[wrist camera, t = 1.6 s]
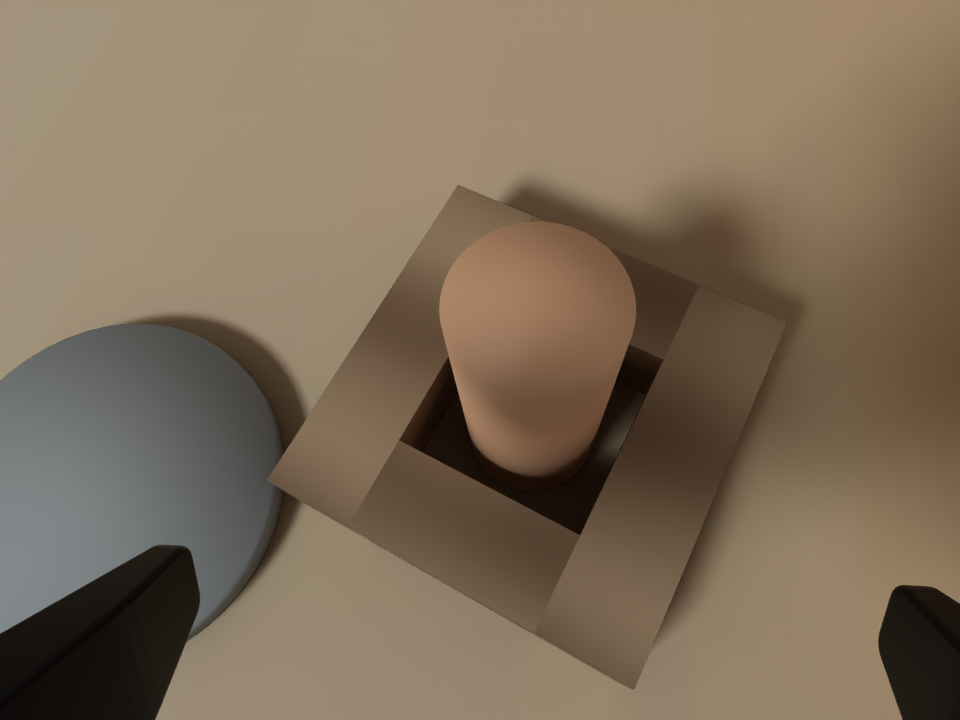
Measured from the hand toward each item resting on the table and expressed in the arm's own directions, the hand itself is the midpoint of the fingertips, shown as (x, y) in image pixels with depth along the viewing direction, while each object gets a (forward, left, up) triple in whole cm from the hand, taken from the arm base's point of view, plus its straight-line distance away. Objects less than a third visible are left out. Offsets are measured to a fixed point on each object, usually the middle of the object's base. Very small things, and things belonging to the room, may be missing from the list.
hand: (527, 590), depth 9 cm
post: (+5, +2, -12) cm, 14 cm away
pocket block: (+5, +2, -12) cm, 14 cm away
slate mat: (-3, +13, -12) cm, 18 cm away
